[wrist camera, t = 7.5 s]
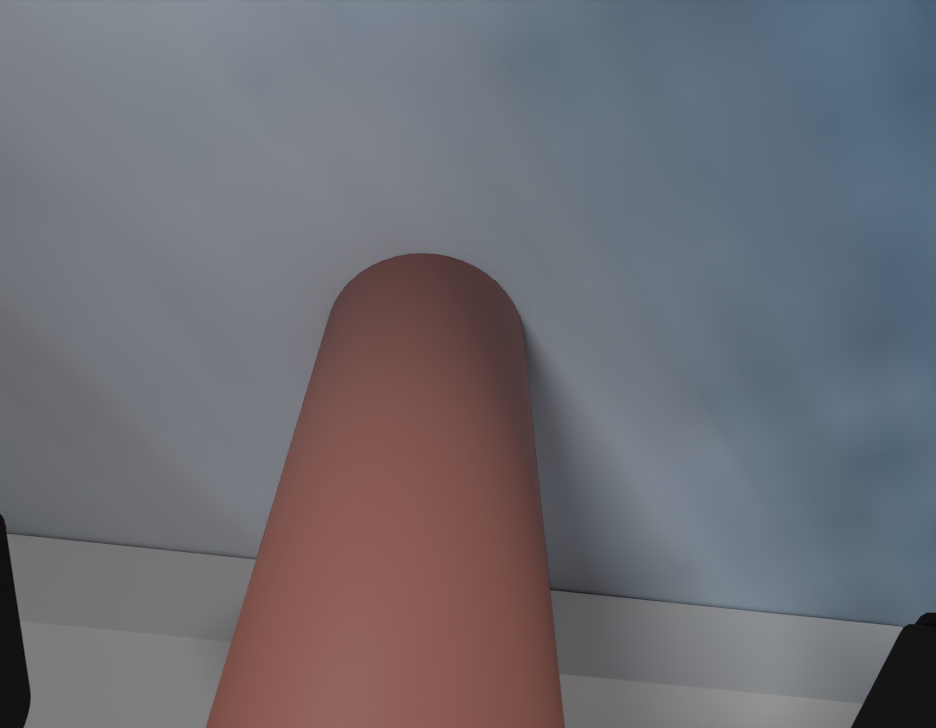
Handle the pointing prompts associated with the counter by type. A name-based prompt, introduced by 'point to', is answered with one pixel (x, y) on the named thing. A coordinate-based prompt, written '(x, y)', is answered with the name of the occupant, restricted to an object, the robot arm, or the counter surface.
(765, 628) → the panel
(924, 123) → the counter surface
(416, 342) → the peg
